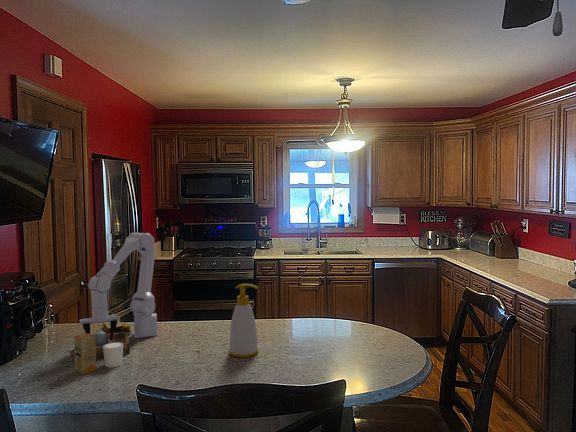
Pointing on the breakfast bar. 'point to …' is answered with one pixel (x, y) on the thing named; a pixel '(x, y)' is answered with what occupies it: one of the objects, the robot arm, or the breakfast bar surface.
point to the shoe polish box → (85, 353)
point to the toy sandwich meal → (118, 328)
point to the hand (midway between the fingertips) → (100, 341)
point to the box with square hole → (117, 337)
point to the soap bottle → (243, 327)
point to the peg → (100, 338)
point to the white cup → (113, 354)
